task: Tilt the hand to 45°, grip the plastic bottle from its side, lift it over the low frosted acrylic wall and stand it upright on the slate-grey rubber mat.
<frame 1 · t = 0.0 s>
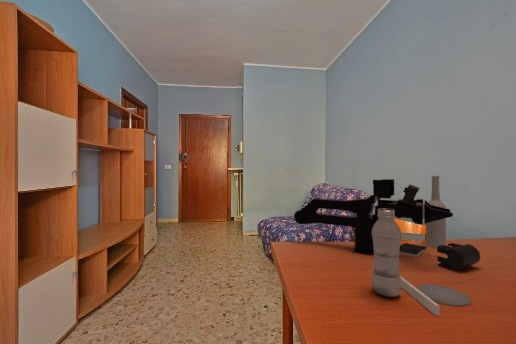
hand: (451, 212, 77), 17 cm above the table, tool horizontal, fingers open, 9 cm apart
slate mat: (442, 294, 58), on the table
smartphone: (410, 251, 93), on the table
frosted wall: (411, 294, 58), on the table
end cap: (458, 268, 76), on the table
bottle: (435, 246, 98), on the table
plastic bottle: (386, 294, 58), on the table
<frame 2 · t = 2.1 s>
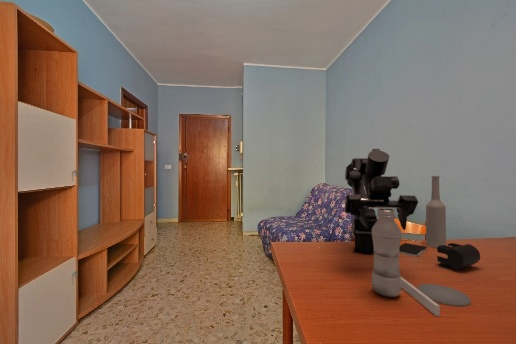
hand: (385, 228, 66), 14 cm above the table, tool tilted 45°, fingers open, 9 cm apart
nothing on the table moved.
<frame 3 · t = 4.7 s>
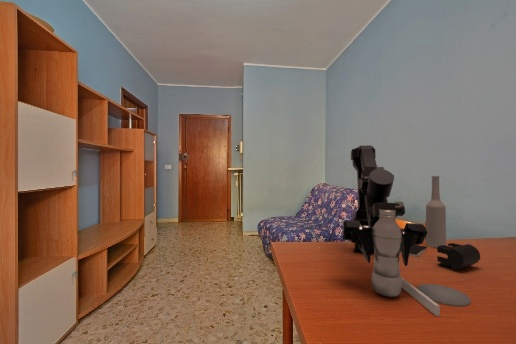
hand: (387, 263, 57), 8 cm above the table, tool tilted 45°, fingers open, 7 cm apart
plastic bottle: (386, 294, 58), on the table, touching gripper
everything else where it was.
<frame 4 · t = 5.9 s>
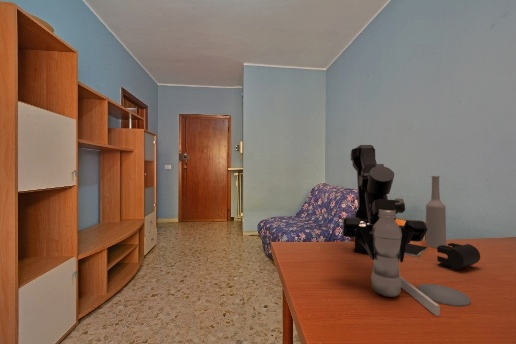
hand: (387, 260, 57), 8 cm above the table, tool tilted 45°, fingers closed on plastic bottle, 6 cm apart
plastic bottle: (385, 294, 58), on the table, touching gripper
everything else where it was.
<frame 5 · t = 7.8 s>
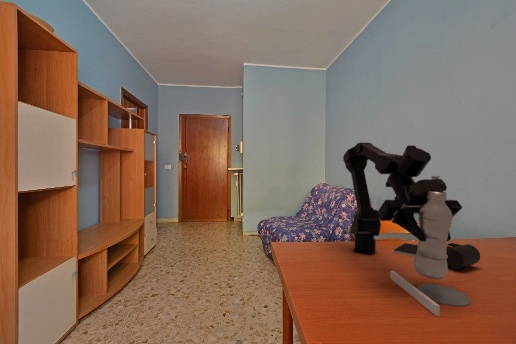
hand: (436, 240, 57), 13 cm above the table, tool tilted 45°, fingers closed on plastic bottle, 6 cm apart
plastic bottle: (429, 277, 58), point 4 cm above the table, touching gripper
everything else where it was.
when the fingers open (9 cm above the table, at t = 9.5 s): plastic bottle stays where it is, resting on slate mat.
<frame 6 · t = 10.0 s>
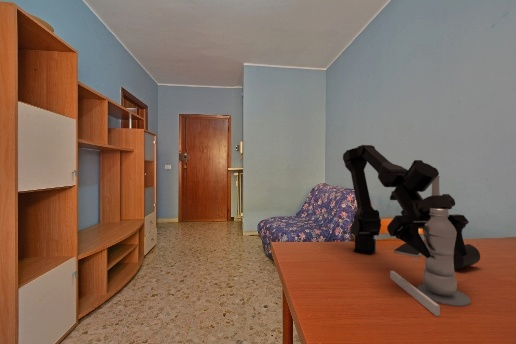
hand: (447, 256, 57), 9 cm above the table, tool tilted 45°, fingers open, 9 cm apart
plastic bottle: (439, 293, 58), resting on slate mat
everything else where it was.
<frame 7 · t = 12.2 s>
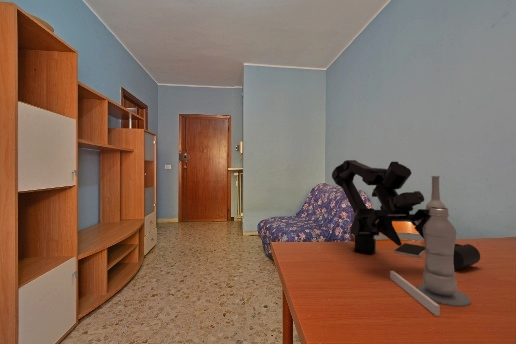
hand: (416, 244, 66), 10 cm above the table, tool tilted 45°, fingers open, 9 cm apart
nothing on the table moved.
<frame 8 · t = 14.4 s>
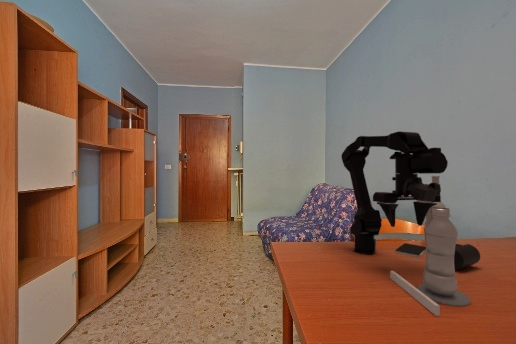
hand: (406, 226, 73), 13 cm above the table, tool pointing down, fingers open, 9 cm apart
nothing on the table moved.
at the end: plastic bottle 0.7 cm off-centre on the slate mat, point 0.2 cm above the slate mat's base; plastic bottle tilted 1°; the gripper is holding nothing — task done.
